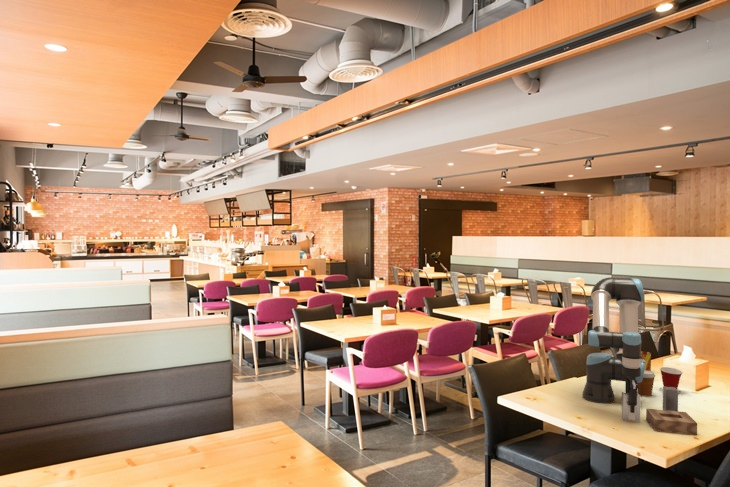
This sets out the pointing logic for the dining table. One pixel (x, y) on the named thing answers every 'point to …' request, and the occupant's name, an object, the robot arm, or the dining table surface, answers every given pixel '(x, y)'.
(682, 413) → the socket block
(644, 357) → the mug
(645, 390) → the disposable coffee cup
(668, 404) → the square steel bar
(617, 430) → the dining table surface
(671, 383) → the plastic cup
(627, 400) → the pale grey rectangular block
